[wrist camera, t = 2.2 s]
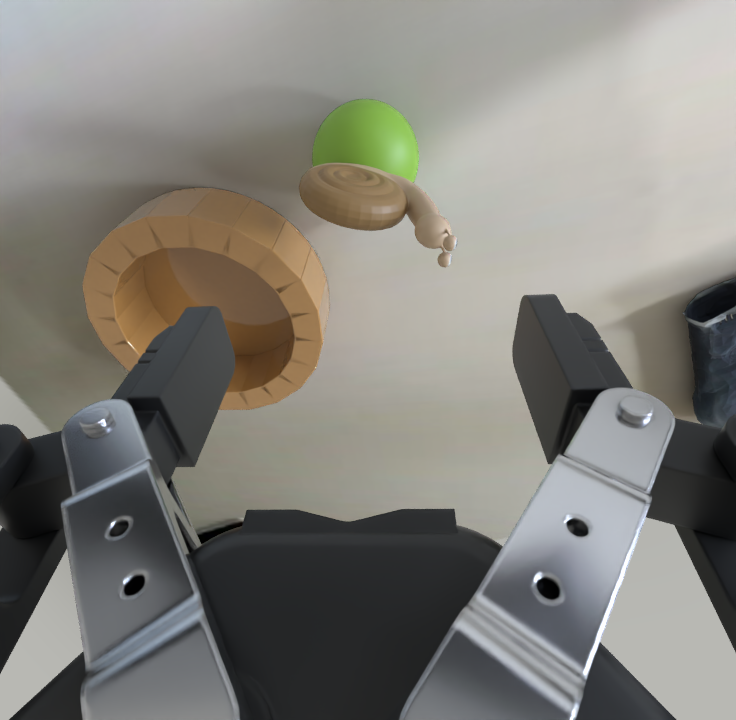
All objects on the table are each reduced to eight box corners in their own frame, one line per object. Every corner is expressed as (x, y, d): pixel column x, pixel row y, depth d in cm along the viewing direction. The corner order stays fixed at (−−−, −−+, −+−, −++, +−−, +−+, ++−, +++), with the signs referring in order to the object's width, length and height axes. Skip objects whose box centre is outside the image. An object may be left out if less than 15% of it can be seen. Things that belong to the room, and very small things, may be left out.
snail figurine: (419, 206, 27) (435, 317, 17) (314, 185, 26) (273, 289, 17) (445, 106, 23) (481, 179, 14) (325, 80, 23) (280, 138, 13)
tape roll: (79, 192, 27) (33, 221, 23) (315, 182, 26) (303, 210, 22) (163, 371, 36) (139, 410, 33) (338, 368, 35) (333, 409, 32)
